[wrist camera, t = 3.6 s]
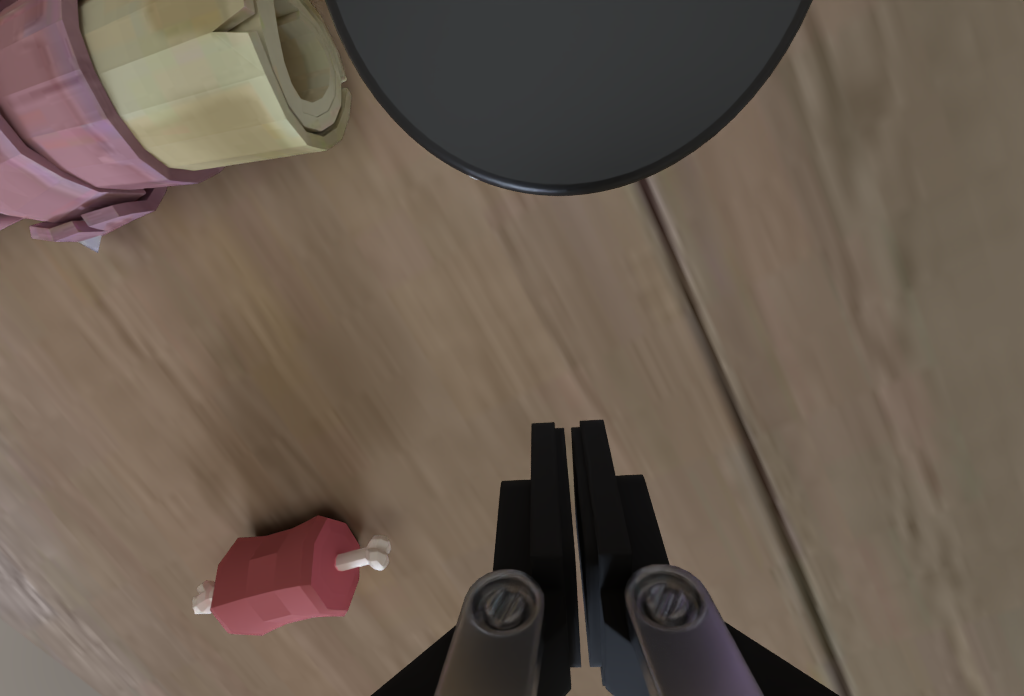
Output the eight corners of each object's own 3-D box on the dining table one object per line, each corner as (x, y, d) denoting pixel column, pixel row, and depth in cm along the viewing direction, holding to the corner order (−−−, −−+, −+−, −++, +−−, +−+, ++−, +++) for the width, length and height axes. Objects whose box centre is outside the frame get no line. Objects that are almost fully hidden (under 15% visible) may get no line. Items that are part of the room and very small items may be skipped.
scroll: (-42, 308, 23) (384, 215, 20) (-340, 290, 16) (267, 140, 13) (-67, 139, 23) (352, 24, 20) (-373, 42, 16) (219, -159, 13)
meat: (371, 483, 27) (353, 576, 23) (416, 529, 30) (407, 618, 26) (184, 538, 29) (141, 629, 26) (243, 575, 33) (212, 662, 29)
